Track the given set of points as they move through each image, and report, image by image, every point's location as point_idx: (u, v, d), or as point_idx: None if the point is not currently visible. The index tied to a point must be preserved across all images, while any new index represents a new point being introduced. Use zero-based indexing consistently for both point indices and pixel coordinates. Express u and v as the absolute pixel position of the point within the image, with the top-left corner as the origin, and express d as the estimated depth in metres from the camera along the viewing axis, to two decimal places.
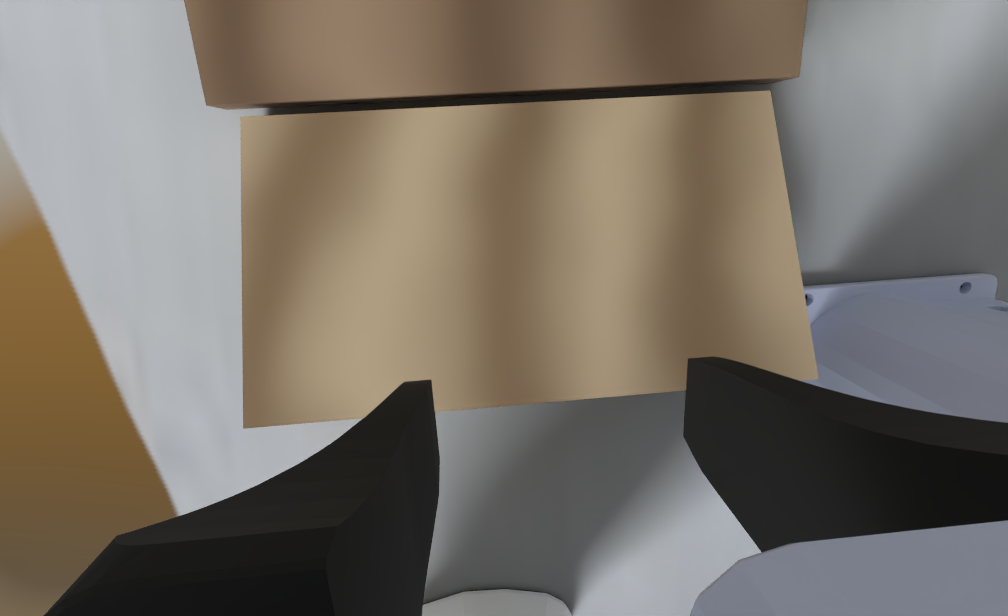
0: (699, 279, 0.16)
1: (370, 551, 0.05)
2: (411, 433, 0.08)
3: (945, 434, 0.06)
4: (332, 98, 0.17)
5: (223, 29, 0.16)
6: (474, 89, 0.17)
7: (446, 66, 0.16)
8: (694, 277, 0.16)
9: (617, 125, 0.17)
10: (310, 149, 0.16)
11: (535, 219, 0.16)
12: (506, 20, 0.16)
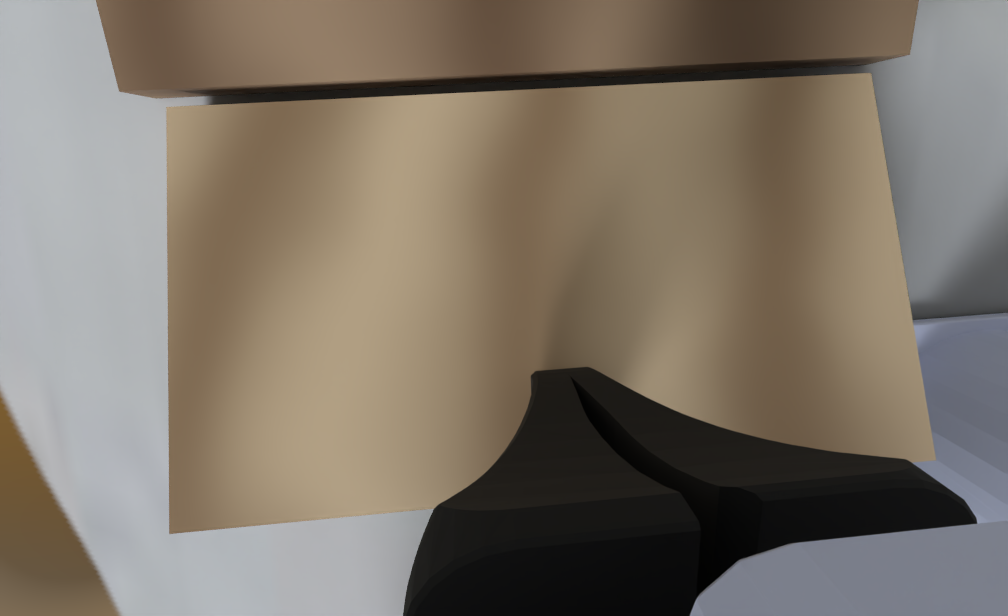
0: (779, 327, 0.12)
1: None
2: None
3: (708, 457, 0.06)
4: (290, 82, 0.12)
5: None
6: (479, 70, 0.13)
7: (443, 39, 0.12)
8: (772, 325, 0.12)
9: (670, 119, 0.13)
10: (260, 151, 0.12)
11: (561, 246, 0.12)
12: None
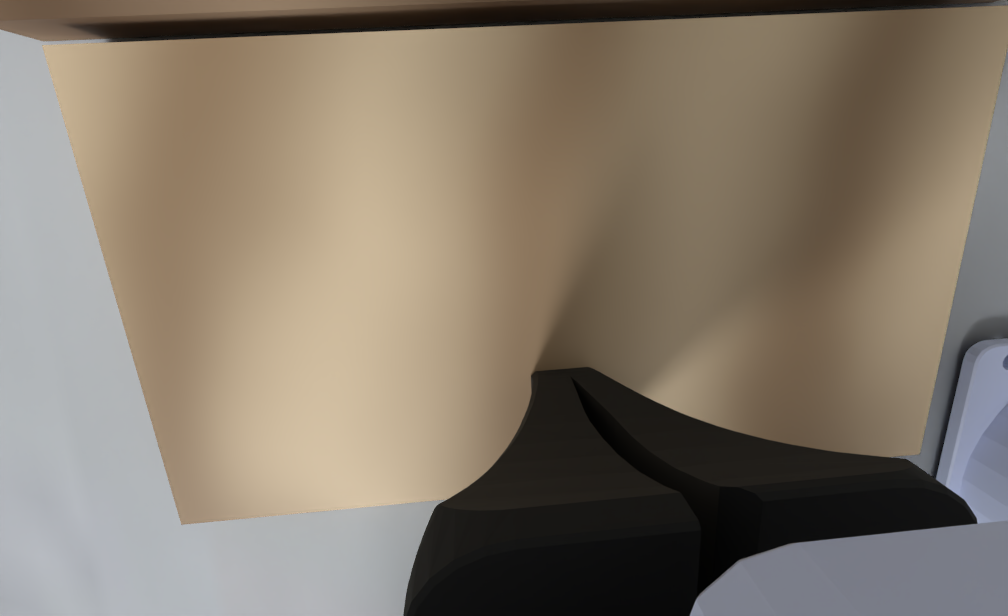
0: (805, 333, 0.11)
1: None
2: None
3: (708, 456, 0.06)
4: (217, 11, 0.09)
5: None
6: None
7: None
8: (798, 331, 0.11)
9: (735, 74, 0.10)
10: (190, 116, 0.09)
11: (578, 244, 0.10)
12: None
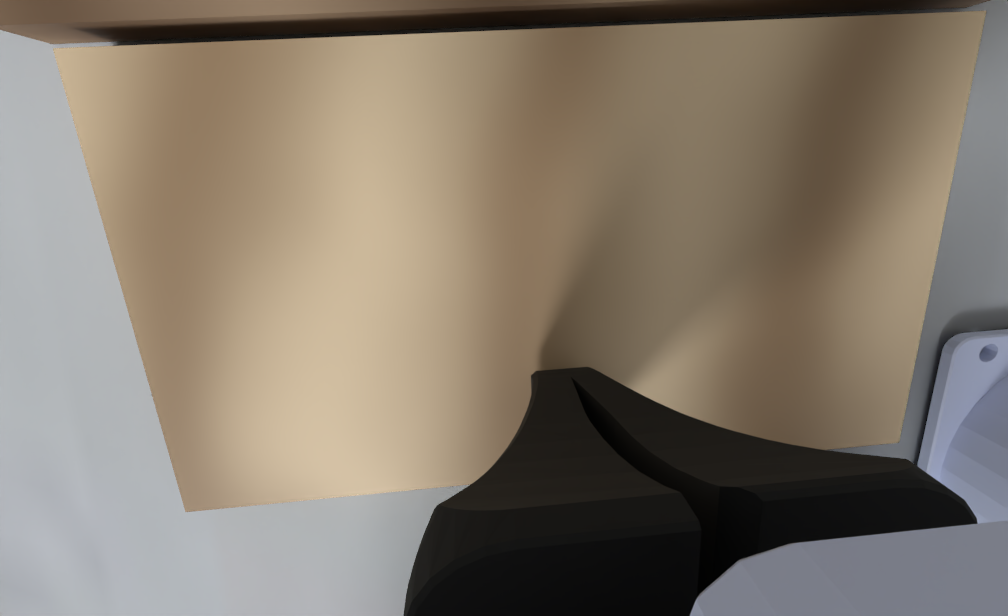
0: (787, 325, 0.12)
1: None
2: None
3: (708, 457, 0.06)
4: (221, 16, 0.09)
5: None
6: (476, 2, 0.09)
7: None
8: (780, 323, 0.12)
9: (718, 76, 0.10)
10: (195, 117, 0.10)
11: (568, 240, 0.11)
12: None
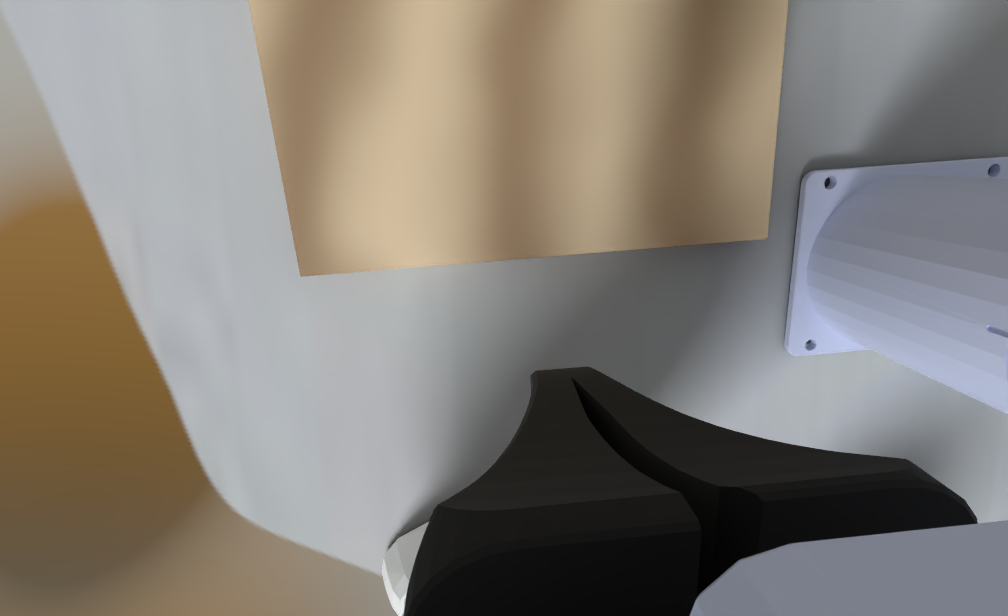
0: (685, 151, 0.18)
1: None
2: None
3: (709, 456, 0.06)
4: None
5: None
6: None
7: None
8: (680, 149, 0.18)
9: None
10: (320, 8, 0.16)
11: (542, 89, 0.17)
12: None
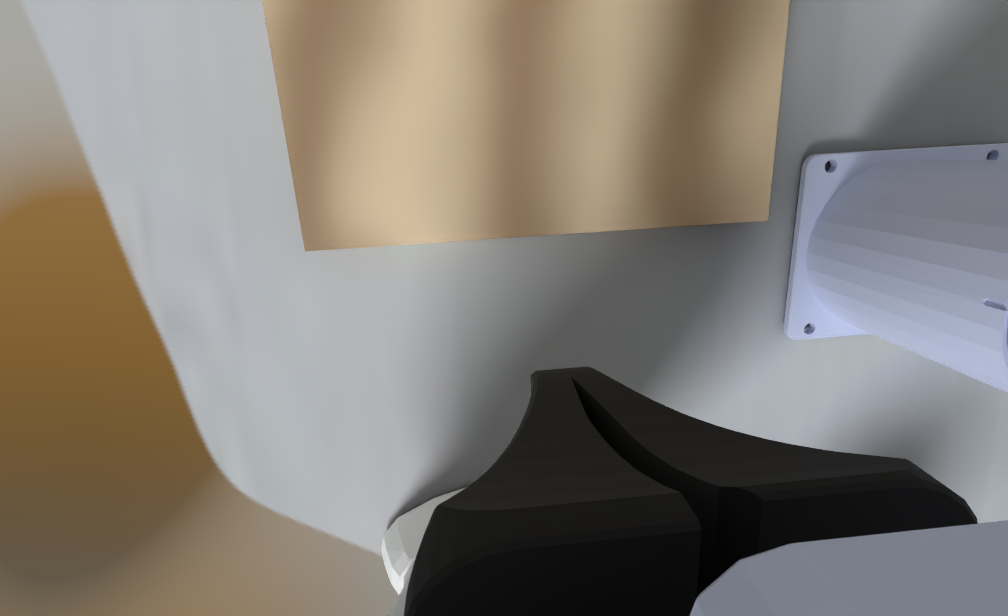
0: (687, 131, 0.19)
1: None
2: None
3: (709, 456, 0.06)
4: None
5: None
6: None
7: None
8: (683, 129, 0.19)
9: None
10: None
11: (547, 67, 0.18)
12: None
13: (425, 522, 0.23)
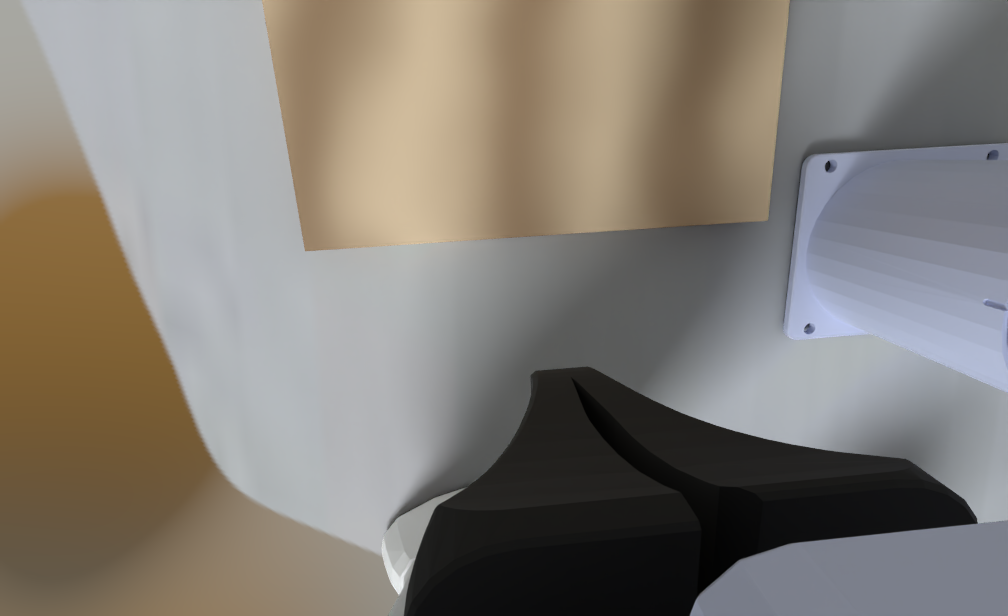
0: (687, 131, 0.19)
1: None
2: None
3: (709, 456, 0.06)
4: None
5: None
6: None
7: None
8: (683, 129, 0.19)
9: None
10: None
11: (547, 67, 0.18)
12: None
13: (425, 522, 0.23)
